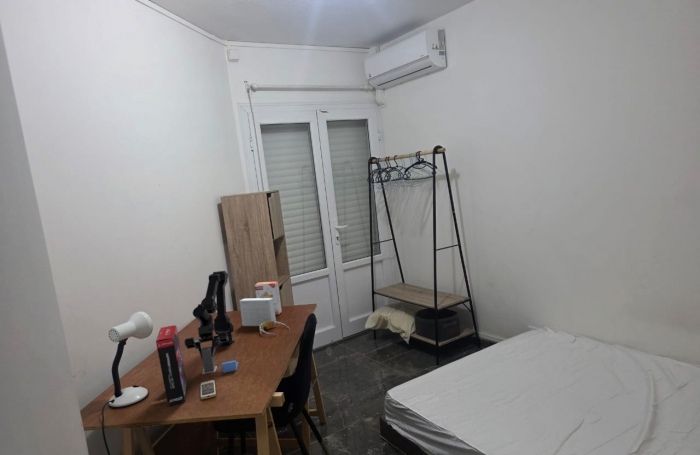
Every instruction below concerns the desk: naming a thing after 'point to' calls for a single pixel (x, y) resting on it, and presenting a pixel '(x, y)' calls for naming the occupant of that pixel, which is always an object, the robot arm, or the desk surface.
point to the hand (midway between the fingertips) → (207, 357)
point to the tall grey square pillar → (207, 359)
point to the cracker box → (269, 293)
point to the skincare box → (257, 311)
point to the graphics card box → (172, 364)
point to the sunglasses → (269, 326)
